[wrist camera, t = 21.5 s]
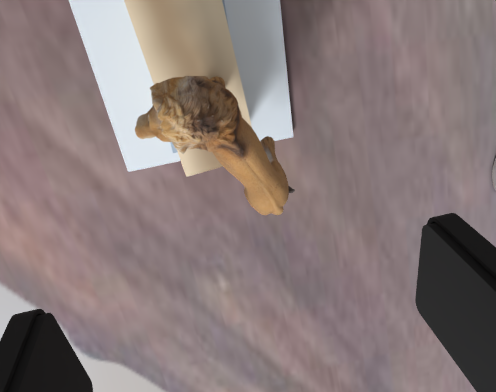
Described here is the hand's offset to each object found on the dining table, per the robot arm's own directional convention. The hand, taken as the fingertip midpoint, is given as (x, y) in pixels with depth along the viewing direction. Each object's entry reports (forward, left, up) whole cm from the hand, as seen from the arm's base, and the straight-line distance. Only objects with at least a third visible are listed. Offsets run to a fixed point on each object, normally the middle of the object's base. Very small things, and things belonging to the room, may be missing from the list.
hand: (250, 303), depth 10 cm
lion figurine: (-1, +4, -22) cm, 22 cm away
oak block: (0, 0, -27) cm, 27 cm away
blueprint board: (0, 0, -28) cm, 28 cm away
